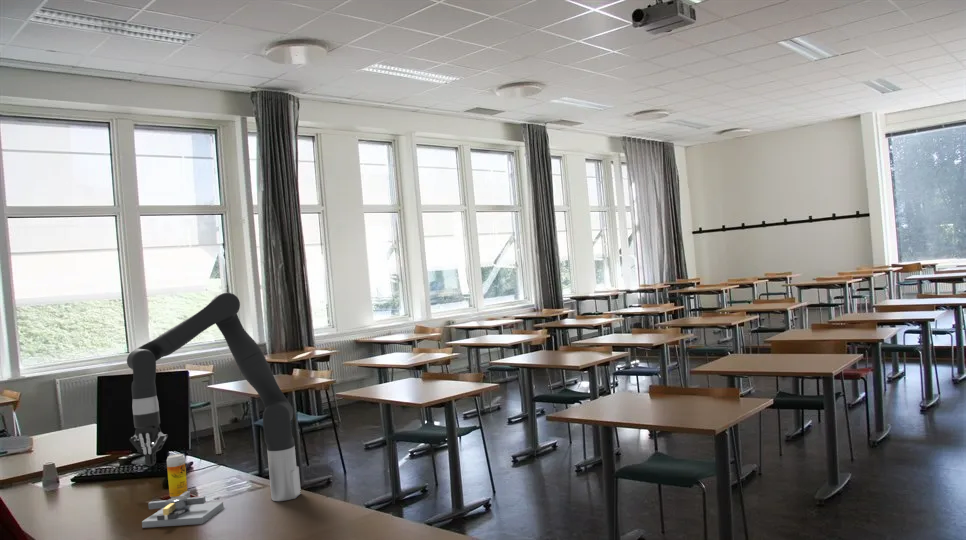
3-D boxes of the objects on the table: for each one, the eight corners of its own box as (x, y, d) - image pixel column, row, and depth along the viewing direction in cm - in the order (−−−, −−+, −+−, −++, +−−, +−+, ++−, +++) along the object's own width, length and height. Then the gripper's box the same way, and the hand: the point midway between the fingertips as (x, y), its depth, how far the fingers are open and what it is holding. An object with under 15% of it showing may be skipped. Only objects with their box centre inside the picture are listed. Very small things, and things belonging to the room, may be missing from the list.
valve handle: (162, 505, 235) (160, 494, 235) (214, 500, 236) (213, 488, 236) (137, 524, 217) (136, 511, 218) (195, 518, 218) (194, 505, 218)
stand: (223, 507, 233) (222, 497, 233) (202, 523, 218) (201, 513, 218) (167, 511, 235) (166, 501, 235) (142, 527, 220) (141, 517, 220)
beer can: (180, 499, 249) (177, 457, 249) (166, 499, 250) (162, 458, 250) (191, 493, 255) (187, 453, 255) (176, 493, 256) (173, 453, 256)
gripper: (171, 407, 222) (177, 460, 222) (136, 410, 225) (141, 462, 225) (156, 412, 215) (161, 467, 215) (119, 415, 218) (125, 469, 218)
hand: (151, 465), depth 220 cm, fingers closed
